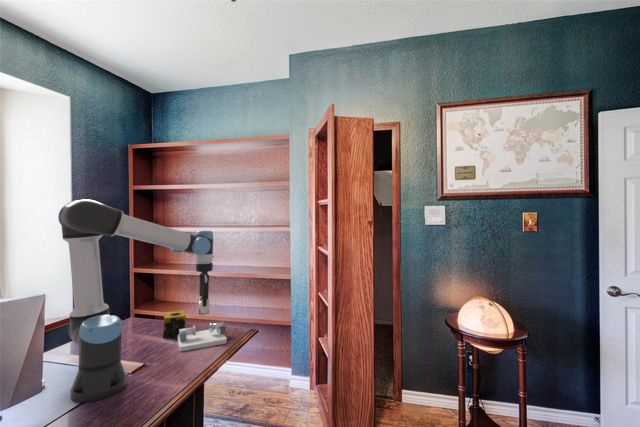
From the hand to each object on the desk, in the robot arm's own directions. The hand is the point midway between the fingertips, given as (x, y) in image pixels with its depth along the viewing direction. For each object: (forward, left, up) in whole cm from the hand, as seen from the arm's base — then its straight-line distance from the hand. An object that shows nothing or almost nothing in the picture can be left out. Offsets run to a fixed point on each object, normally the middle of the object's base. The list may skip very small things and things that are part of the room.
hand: (203, 311), depth 143 cm
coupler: (0, 0, -1) cm, 1 cm away
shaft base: (0, 0, -14) cm, 14 cm away
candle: (-11, +16, -14) cm, 24 cm away
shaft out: (+7, +1, -12) cm, 14 cm away
